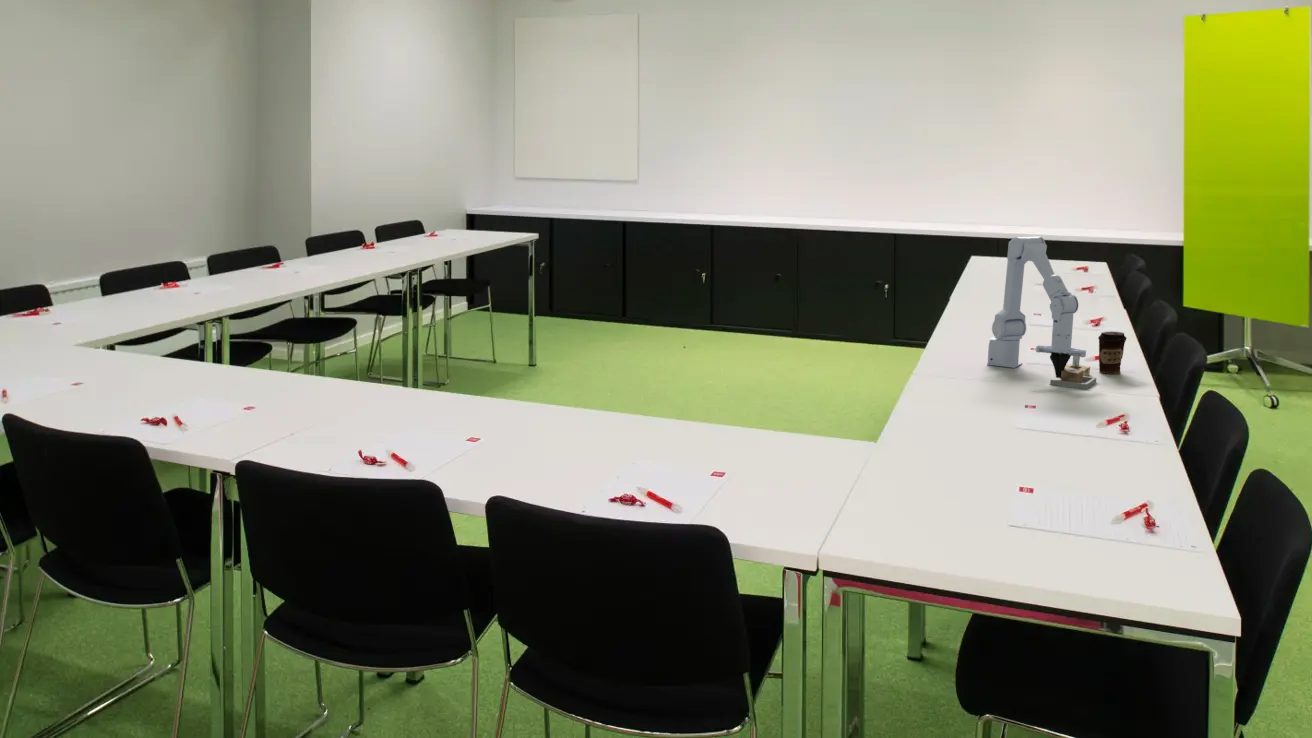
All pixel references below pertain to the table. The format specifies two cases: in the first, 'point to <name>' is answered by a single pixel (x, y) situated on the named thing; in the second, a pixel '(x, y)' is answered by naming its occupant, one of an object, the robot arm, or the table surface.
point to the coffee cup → (1111, 351)
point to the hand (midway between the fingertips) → (1058, 377)
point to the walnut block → (1072, 375)
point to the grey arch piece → (1075, 383)
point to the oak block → (1085, 369)
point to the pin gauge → (1076, 362)
